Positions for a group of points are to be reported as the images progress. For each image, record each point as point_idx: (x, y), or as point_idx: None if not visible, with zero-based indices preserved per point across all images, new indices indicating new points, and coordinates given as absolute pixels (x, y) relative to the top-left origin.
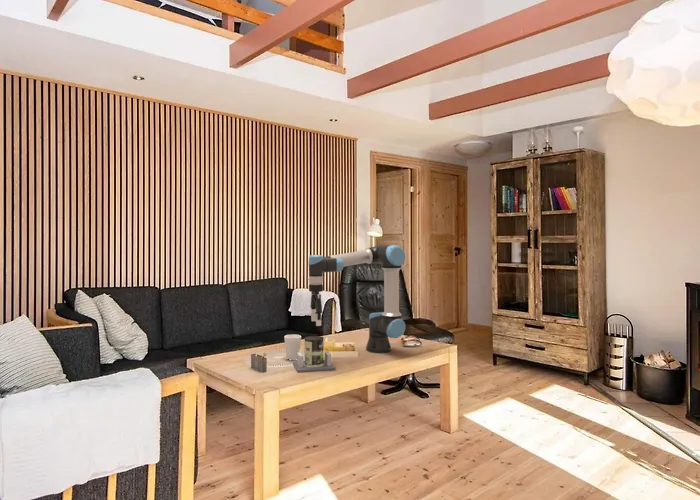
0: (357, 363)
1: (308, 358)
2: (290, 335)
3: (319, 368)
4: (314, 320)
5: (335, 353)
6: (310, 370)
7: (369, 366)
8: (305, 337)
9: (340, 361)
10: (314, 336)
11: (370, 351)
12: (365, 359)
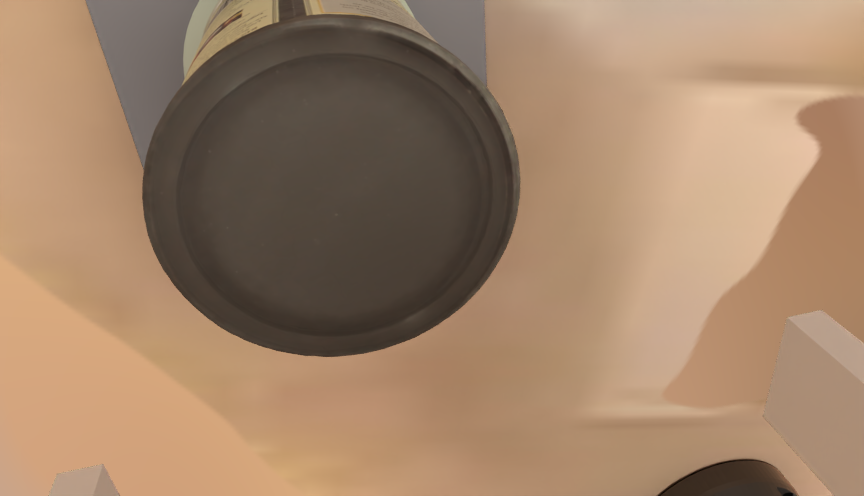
0: (396, 418)
1: (211, 23)
2: None
3: (145, 128)
4: (783, 392)
5: (734, 271)
6: (97, 19)
7: (303, 486)
8: (400, 45)
9: (477, 307)
10: (486, 215)
11: (677, 485)
12: (498, 460)
